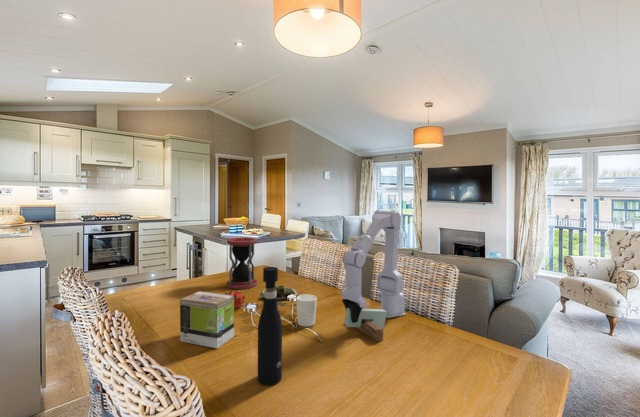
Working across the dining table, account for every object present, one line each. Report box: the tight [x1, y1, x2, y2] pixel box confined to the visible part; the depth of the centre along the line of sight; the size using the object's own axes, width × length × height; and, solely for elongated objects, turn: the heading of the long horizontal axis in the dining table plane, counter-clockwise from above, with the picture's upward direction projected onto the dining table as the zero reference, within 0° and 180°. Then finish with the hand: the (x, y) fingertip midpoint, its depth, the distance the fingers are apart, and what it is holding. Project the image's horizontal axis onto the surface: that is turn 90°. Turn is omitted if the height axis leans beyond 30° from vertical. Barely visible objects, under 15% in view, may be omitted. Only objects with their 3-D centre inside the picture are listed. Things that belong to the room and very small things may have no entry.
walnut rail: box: [357, 319, 384, 343], centre depth 113 cm, size 3×18×4 cm, turn 23°
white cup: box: [296, 293, 318, 327], centre depth 119 cm, size 8×8×10 cm
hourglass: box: [226, 237, 258, 290], centre depth 167 cm, size 16×16×25 cm
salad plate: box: [260, 284, 298, 302], centre depth 153 cm, size 19×18×5 cm
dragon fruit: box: [224, 289, 246, 311], centre depth 133 cm, size 8×8×12 cm
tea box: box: [179, 290, 235, 349], centre depth 105 cm, size 15×10×15 cm, turn 71°
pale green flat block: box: [343, 307, 387, 328], centre depth 113 cm, size 16×2×6 cm, turn 114°
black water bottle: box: [257, 266, 283, 387], centre depth 82 cm, size 6×6×30 cm
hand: (352, 320), depth 111 cm, fingers closed on pale green flat block, 2 cm apart
